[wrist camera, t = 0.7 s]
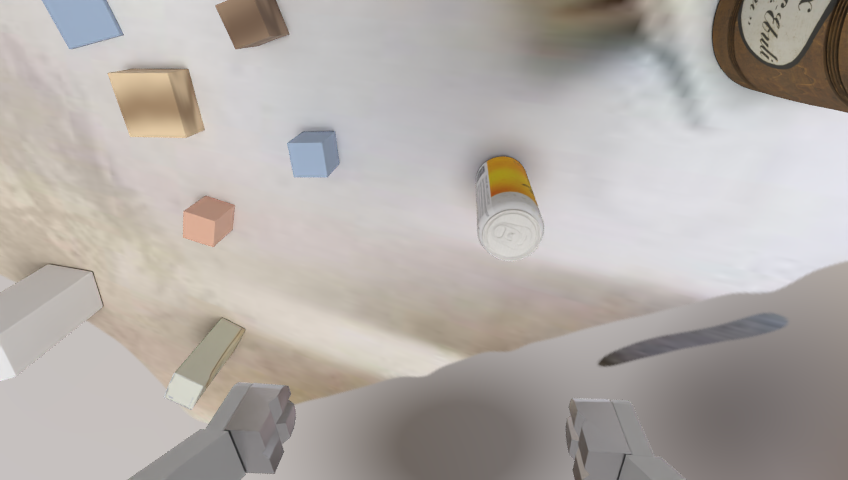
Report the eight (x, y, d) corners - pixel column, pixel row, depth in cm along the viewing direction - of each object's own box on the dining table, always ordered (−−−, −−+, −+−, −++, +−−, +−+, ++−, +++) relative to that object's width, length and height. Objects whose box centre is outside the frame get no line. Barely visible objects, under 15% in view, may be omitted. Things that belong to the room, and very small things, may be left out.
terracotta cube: (206, 195, 55) (183, 211, 51) (235, 205, 56) (215, 221, 51) (204, 220, 57) (183, 237, 53) (232, 229, 58) (213, 247, 53)
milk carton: (93, 270, 64) (-39, 361, 47) (104, 306, 67) (-15, 401, 51) (48, 263, 64) (-99, 350, 47) (62, 298, 67) (-71, 391, 51)
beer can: (513, 207, 52) (527, 273, 39) (468, 191, 51) (467, 252, 38) (534, 164, 49) (558, 219, 36) (487, 147, 48) (493, 196, 35)
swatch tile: (34, -21, 44) (29, -22, 44) (87, -38, 43) (83, -39, 43) (73, 48, 47) (69, 49, 47) (123, 34, 46) (120, 35, 46)
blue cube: (303, 131, 50) (287, 143, 45) (335, 131, 49) (322, 142, 45) (308, 163, 52) (294, 177, 47) (339, 163, 51) (327, 177, 47)
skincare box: (234, 350, 69) (192, 411, 59) (209, 339, 68) (162, 398, 58) (246, 328, 66) (204, 387, 56) (221, 315, 66) (173, 373, 55)
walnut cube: (240, 6, 44) (215, 5, 39) (272, -7, 43) (250, -9, 38) (258, 45, 45) (235, 49, 41) (289, 34, 45) (270, 36, 40)
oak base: (133, 68, 48) (107, 73, 45) (189, 68, 48) (167, 73, 44) (153, 128, 52) (130, 136, 48) (205, 129, 51) (186, 137, 47)
